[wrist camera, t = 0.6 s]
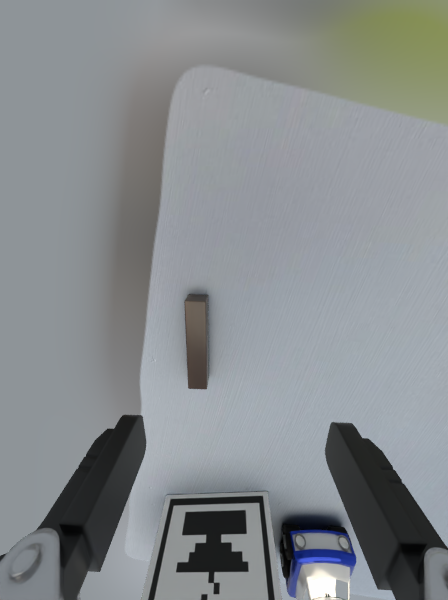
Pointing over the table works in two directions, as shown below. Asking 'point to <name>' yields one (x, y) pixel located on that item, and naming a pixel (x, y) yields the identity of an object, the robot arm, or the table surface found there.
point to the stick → (197, 340)
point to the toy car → (317, 563)
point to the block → (214, 549)
